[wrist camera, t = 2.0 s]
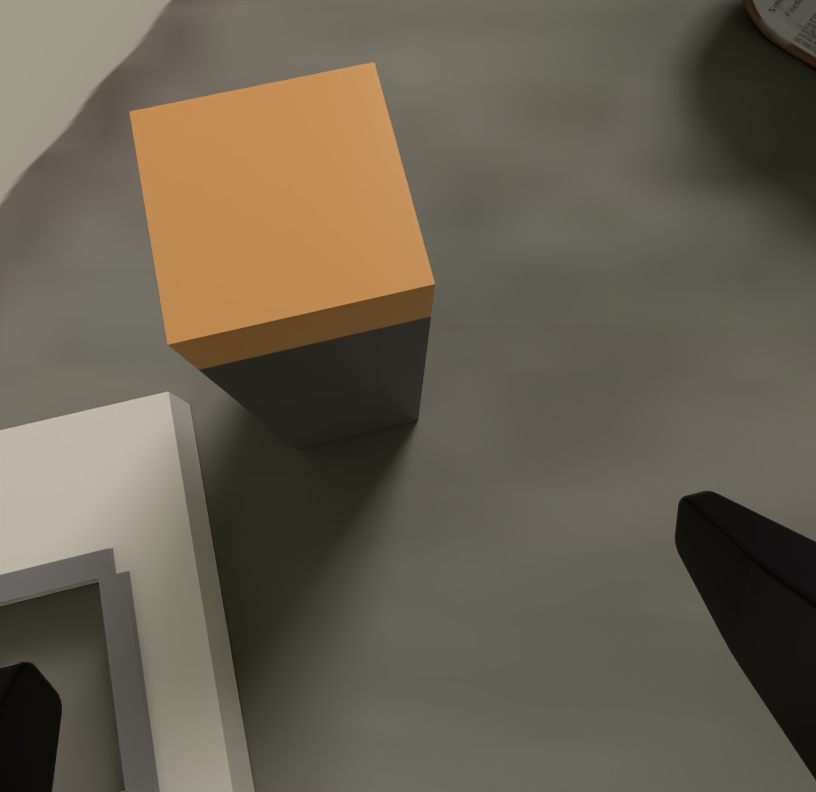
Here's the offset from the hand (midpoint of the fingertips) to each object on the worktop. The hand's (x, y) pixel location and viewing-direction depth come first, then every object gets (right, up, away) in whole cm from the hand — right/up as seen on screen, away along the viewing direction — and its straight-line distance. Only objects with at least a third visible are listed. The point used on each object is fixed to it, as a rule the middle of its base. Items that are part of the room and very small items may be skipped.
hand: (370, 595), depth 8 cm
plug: (-2, +3, +14) cm, 14 cm away
